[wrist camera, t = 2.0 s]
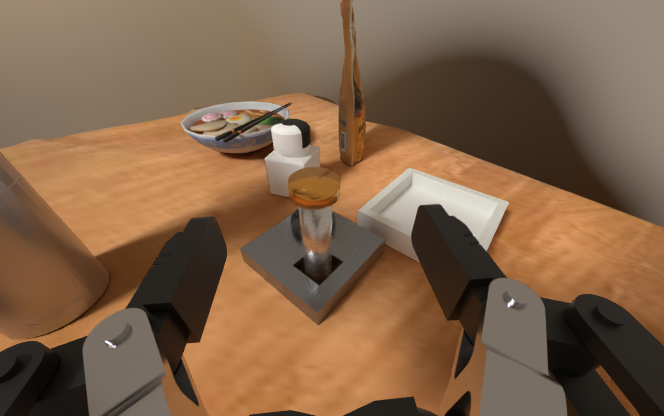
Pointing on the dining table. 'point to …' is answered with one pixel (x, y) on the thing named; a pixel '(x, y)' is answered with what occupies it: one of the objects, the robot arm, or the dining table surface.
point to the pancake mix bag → (351, 95)
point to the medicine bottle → (289, 153)
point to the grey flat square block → (288, 263)
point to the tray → (423, 189)
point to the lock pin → (315, 217)
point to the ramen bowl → (235, 125)
